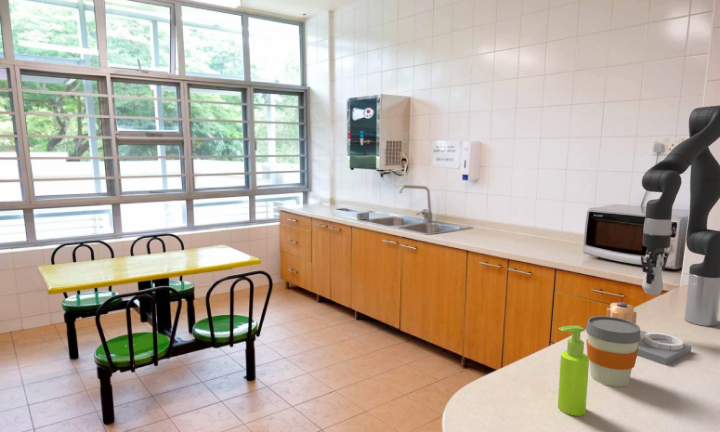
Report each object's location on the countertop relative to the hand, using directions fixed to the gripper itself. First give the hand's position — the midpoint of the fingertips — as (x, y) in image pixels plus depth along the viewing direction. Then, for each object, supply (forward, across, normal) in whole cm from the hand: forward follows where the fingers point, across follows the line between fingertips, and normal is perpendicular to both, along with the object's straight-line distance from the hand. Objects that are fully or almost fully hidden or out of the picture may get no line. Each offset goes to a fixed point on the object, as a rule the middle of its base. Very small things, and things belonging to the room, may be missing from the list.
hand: (652, 283), depth 149 cm
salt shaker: (+3, 0, 0) cm, 3 cm away
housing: (+17, +12, +4) cm, 21 cm away
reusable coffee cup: (+17, +41, +10) cm, 46 cm away
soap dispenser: (+17, +64, +13) cm, 68 cm away
